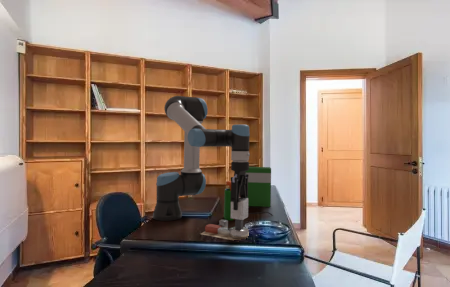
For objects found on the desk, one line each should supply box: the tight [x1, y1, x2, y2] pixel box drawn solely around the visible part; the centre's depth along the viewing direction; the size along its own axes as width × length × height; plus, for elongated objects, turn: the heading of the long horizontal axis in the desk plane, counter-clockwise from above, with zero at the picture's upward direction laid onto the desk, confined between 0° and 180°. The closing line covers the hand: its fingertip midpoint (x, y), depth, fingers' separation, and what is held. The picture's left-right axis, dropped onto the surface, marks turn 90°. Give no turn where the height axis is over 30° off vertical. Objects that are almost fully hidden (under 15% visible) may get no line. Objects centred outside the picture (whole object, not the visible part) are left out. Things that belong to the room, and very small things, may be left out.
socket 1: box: [218, 219, 229, 228], centre depth 134 cm, size 4×4×4 cm
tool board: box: [200, 231, 238, 241], centre depth 128 cm, size 24×13×1 cm, turn 63°
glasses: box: [248, 206, 274, 216], centre depth 167 cm, size 14×16×5 cm
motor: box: [223, 180, 240, 221], centre depth 154 cm, size 10×9×20 cm
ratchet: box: [204, 219, 250, 240], centre depth 128 cm, size 20×8×7 cm, turn 63°
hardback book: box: [245, 166, 272, 208], centre depth 189 cm, size 18×7×24 cm, turn 85°
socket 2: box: [231, 197, 249, 221], centre depth 125 cm, size 6×6×8 cm
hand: (239, 215), depth 125 cm, fingers closed on socket 2, 6 cm apart
